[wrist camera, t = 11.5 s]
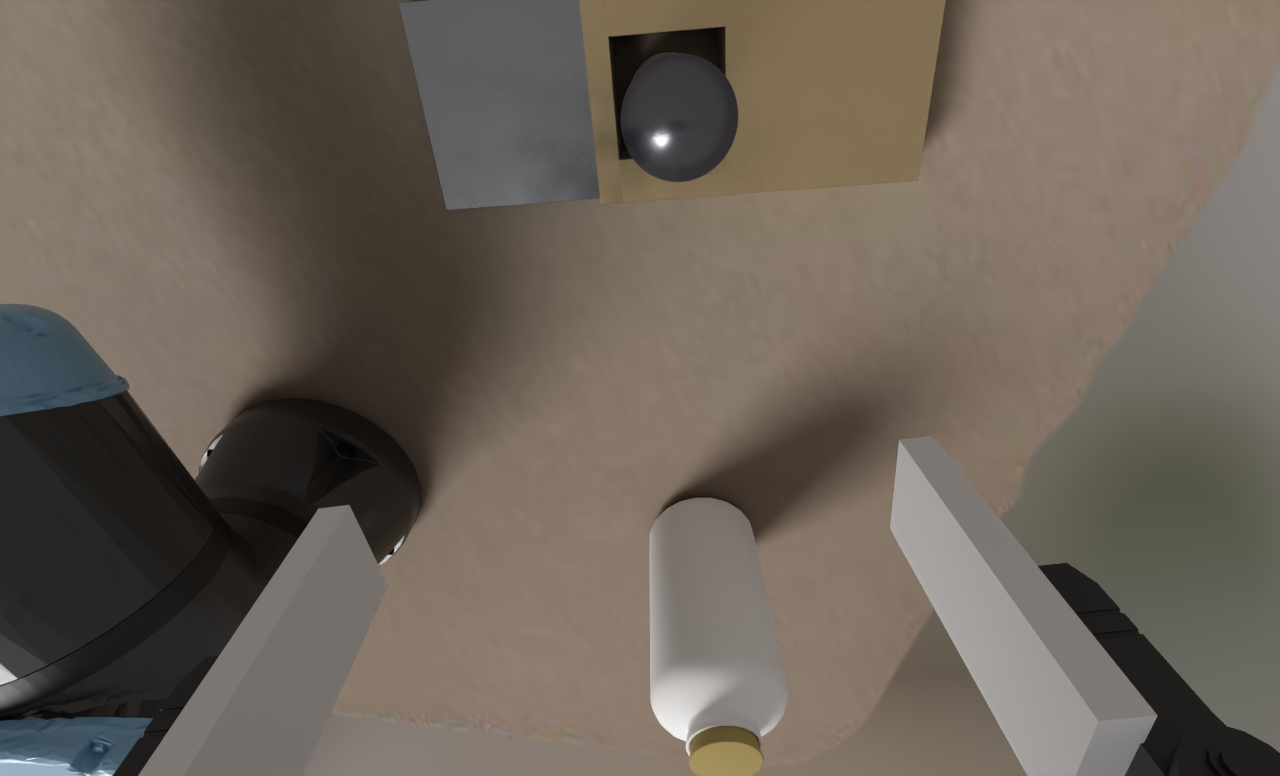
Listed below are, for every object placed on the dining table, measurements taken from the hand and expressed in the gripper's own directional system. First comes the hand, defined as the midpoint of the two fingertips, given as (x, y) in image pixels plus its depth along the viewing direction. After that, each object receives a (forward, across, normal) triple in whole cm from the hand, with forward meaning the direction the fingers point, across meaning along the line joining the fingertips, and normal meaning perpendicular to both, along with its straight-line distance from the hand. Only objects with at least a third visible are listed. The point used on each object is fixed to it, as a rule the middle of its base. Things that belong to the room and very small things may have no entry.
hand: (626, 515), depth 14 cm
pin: (+25, +3, +8) cm, 26 cm away
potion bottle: (+25, +3, -24) cm, 35 cm away
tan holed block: (+25, +3, +8) cm, 26 cm away
